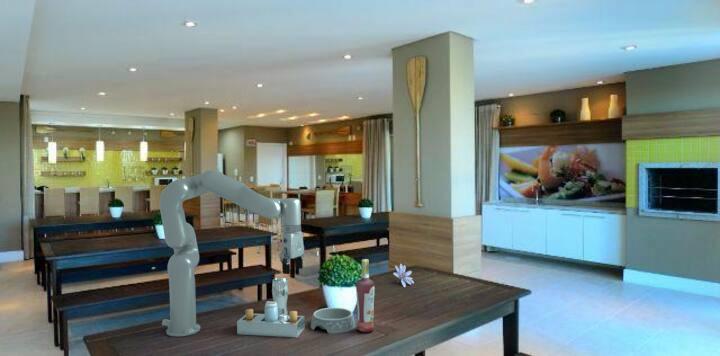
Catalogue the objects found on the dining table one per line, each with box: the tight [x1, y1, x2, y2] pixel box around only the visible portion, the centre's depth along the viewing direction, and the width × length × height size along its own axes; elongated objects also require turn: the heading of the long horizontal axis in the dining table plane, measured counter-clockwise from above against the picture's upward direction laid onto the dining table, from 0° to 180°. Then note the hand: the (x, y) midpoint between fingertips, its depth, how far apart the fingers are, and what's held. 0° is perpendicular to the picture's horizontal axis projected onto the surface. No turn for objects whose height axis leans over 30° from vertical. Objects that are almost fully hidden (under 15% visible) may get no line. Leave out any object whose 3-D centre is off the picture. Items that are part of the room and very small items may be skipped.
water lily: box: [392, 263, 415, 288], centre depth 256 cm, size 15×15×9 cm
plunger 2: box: [288, 310, 298, 323], centre depth 184 cm, size 3×3×5 cm
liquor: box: [355, 258, 376, 333], centre depth 185 cm, size 7×7×28 cm
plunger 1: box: [245, 308, 254, 321], centre depth 187 cm, size 3×3×5 cm
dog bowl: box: [309, 307, 356, 335], centre depth 192 cm, size 17×18×5 cm
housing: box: [236, 312, 306, 338], centre depth 186 cm, size 24×10×5 cm, turn 81°
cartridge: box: [264, 300, 278, 322], centre depth 186 cm, size 5×5×12 cm
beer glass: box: [271, 277, 289, 315], centre depth 207 cm, size 7×7×15 cm
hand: (292, 271), depth 191 cm, fingers open, 9 cm apart
